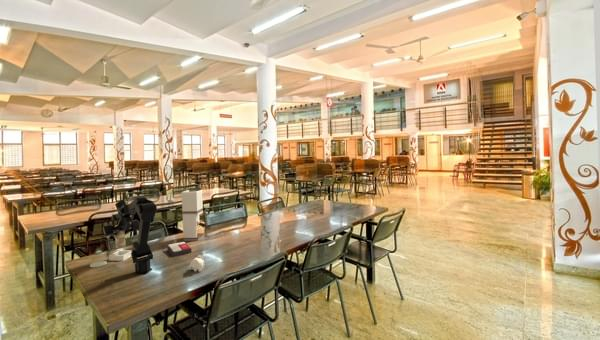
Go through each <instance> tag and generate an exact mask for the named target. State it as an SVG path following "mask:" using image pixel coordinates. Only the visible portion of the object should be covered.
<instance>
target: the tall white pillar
mask: <svg viewBox="0 0 600 340" xmlns="http://www.w3.org/2000/svg"><path fill="white" fill-rule="evenodd" d="M203 207H204V206H203V190H202V189H200V190H197V191H190V190H189V189H187V190H184V191H181V208H182V211H181V212H182V231H183V233H182V234H183V242H185V241H186V242H187V241H189V242H190V241H191V242H192V241H200V240H201V239H202V238H203V237H204V236H205V235H204V234H205V233H204V232H198V229H197V228H198V225H200V224H201V223H200V222H201V221H200V215H202V214H203V213H204V209H203Z"/></svg>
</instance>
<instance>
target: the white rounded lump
mask: <svg viewBox="0 0 600 340" xmlns="http://www.w3.org/2000/svg"><path fill="white" fill-rule="evenodd" d="M205 264H206V262H205V258H204V256H203V255H202V254H198V255H197V256H196V257H195V258H193V259H192V261H190V264H189V265H188V266H187V268H189V270H193V271H194V272H200V273H201V272H202V271H203V270H204V269H205V267H206V266H205Z"/></svg>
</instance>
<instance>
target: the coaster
mask: <svg viewBox="0 0 600 340" xmlns="http://www.w3.org/2000/svg"><path fill="white" fill-rule="evenodd" d="M107 263H108V261H107V260H106V261H105V260H99V261H95V262H92V263H91V264H89V267H90V268H100V267H103V266H105V265H107Z"/></svg>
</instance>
